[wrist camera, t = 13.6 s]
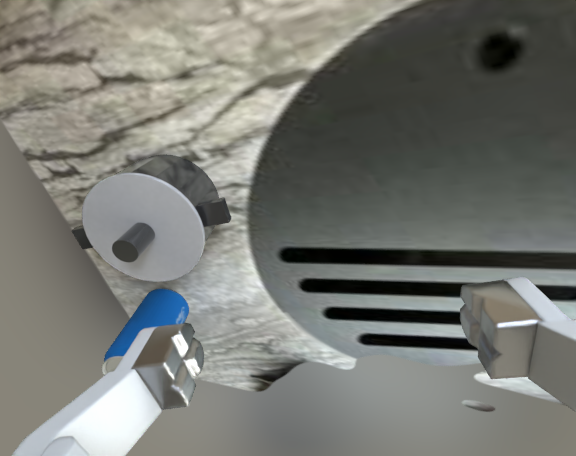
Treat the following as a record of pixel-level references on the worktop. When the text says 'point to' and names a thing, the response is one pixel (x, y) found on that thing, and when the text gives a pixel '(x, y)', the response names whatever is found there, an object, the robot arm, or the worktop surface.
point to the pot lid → (143, 227)
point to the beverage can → (147, 322)
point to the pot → (187, 182)
